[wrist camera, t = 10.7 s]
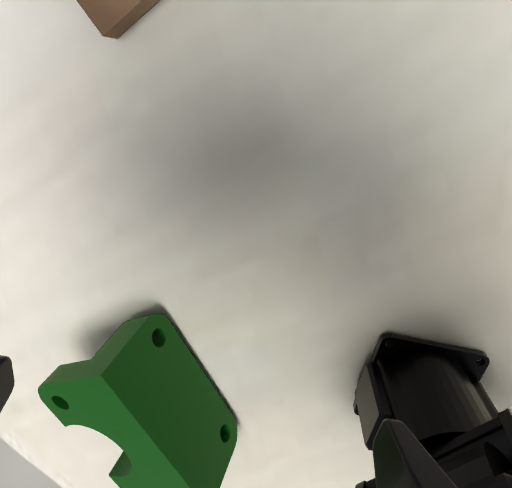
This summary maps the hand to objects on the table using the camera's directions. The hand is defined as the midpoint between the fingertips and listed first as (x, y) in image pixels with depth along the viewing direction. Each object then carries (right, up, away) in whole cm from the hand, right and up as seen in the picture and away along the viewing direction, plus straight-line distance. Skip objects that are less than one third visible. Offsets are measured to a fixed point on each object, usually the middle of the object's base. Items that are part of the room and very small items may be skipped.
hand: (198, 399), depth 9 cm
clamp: (-5, -6, +17) cm, 19 cm away
